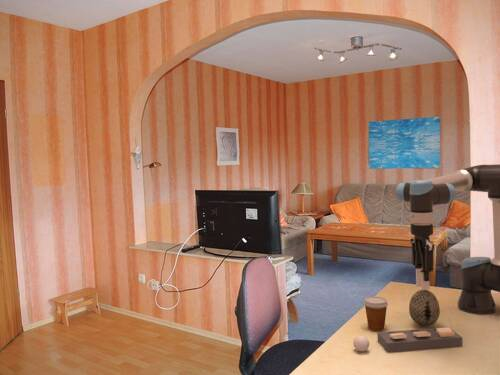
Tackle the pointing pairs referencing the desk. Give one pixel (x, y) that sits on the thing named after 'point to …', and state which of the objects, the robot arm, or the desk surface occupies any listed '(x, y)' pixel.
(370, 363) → the desk surface
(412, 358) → the desk surface
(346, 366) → the desk surface
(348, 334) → the desk surface
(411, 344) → the power strip
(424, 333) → the middle rocker
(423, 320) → the decorative egg
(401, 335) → the rocker
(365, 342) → the white ball
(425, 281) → the robot arm
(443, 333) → the rocker
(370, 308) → the disposable coffee cup
